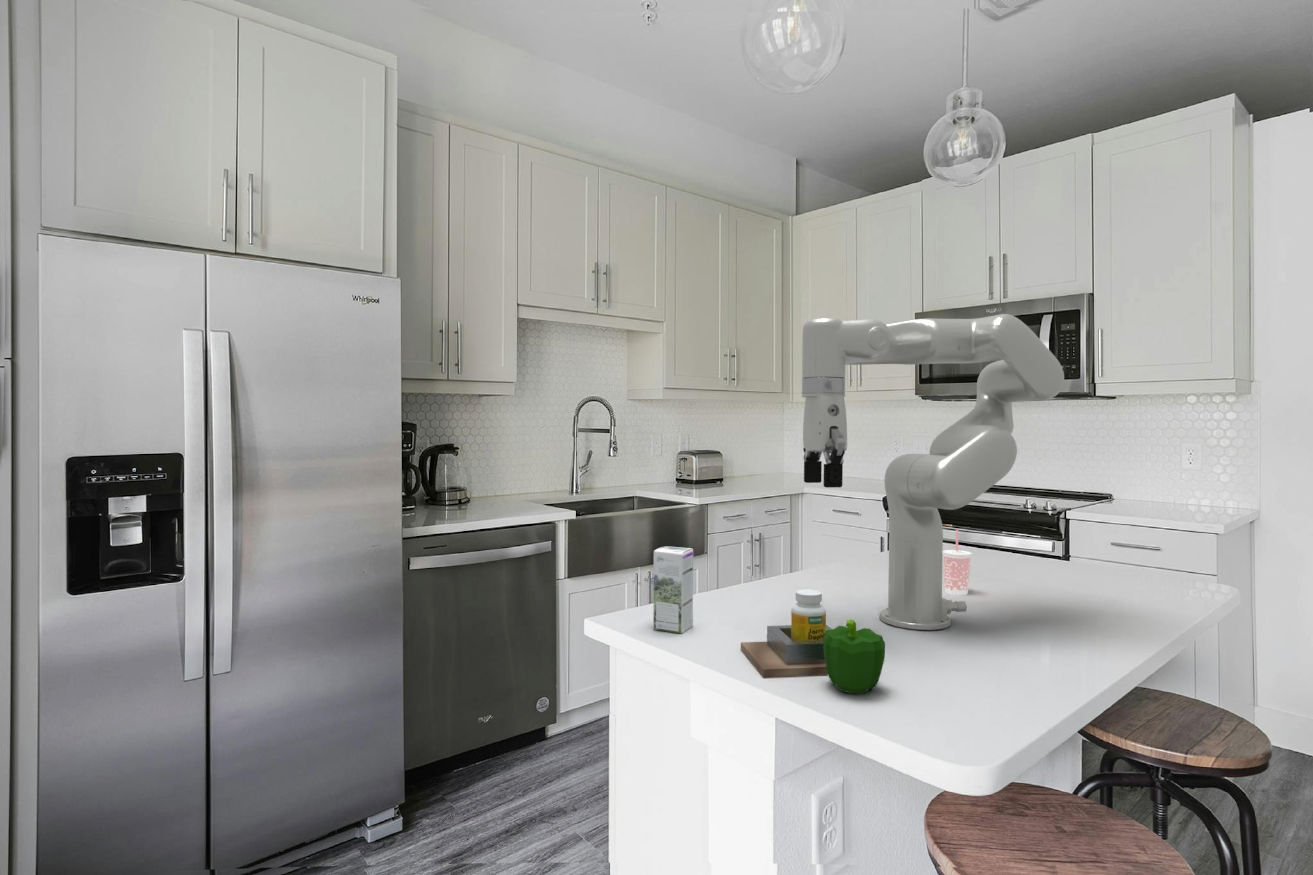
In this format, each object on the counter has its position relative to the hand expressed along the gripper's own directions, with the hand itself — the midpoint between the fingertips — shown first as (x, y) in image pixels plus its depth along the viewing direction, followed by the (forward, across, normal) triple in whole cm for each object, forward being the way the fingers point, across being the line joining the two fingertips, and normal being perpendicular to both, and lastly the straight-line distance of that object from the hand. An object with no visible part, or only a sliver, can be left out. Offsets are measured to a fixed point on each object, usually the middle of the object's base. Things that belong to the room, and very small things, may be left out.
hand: (822, 484), depth 127 cm
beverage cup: (+26, +25, -41) cm, 55 cm away
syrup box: (+26, +5, +26) cm, 37 cm away
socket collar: (+25, -15, +8) cm, 30 cm away
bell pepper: (+26, -27, +6) cm, 38 cm away
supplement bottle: (+25, -15, +8) cm, 30 cm away
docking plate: (+26, -15, +8) cm, 31 cm away
